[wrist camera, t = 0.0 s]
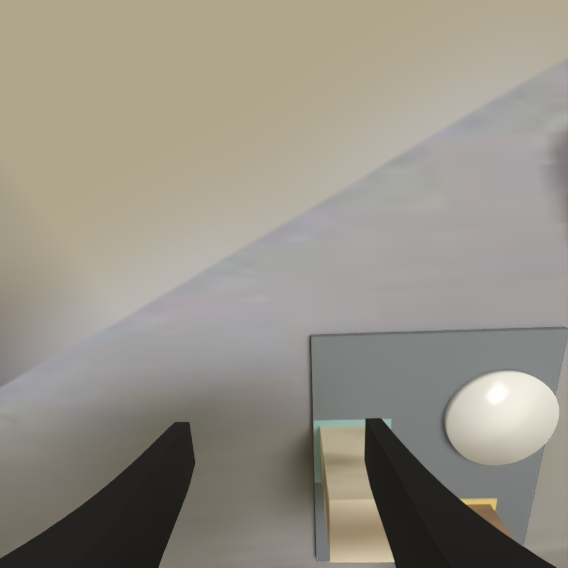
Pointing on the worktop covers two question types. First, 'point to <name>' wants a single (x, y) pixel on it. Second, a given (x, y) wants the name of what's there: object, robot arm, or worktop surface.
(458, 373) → the grey board
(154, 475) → the robot arm
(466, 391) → the white flat disc
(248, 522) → the worktop surface
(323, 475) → the beech block
